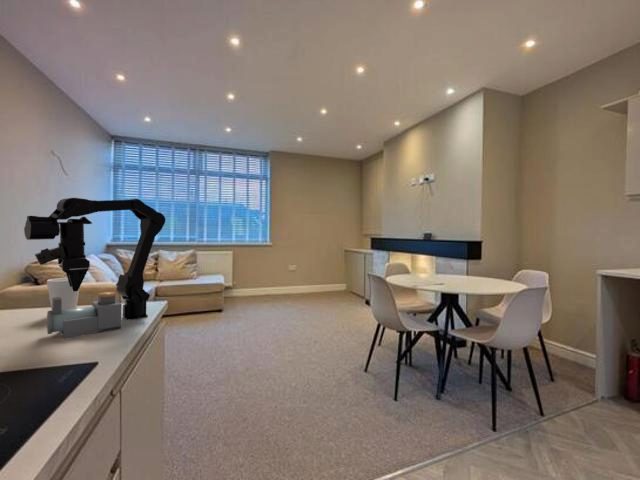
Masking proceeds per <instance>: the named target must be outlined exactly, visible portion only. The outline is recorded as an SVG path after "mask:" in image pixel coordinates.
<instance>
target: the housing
mask: <svg viewBox="0 0 640 480" xmlns="http://www.w3.org/2000/svg"><path fill="white" fill-rule="evenodd" d="M92 306H94V307H95V312H96V316H92V317H85V318H78V319H71V320H65V321H63V331H59V333H60V334H61V336H62V338H63V340H68V339H73V338H78V337H84V336H91V335H95V334H101V333H106V332H113V331H117V330H121V329H122V303H121V302H119V301H118V300H117V299H115V303H111V304H103V305H99V304H98V300H93V301H92V303H91V307H92Z"/></svg>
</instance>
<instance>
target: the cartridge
mask: <svg viewBox="0 0 640 480" xmlns="http://www.w3.org/2000/svg"><path fill="white" fill-rule="evenodd" d="M61 301H62V299H61V298H60V297H56V298H52V309H51V310H47V313H46V331H47V335H52V334H53V333H57V332H60V331H63V321H65V320H71V319H78V318H85V317H92V316H96V312H95V307H94V306H92V305H91V306H87V307H86V306H85V307H78V308H77V307H76V309H68V310H61Z"/></svg>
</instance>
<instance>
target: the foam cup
mask: <svg viewBox="0 0 640 480" xmlns="http://www.w3.org/2000/svg"><path fill="white" fill-rule="evenodd" d="M46 287H47V292H48V297H49V303H50V310H52V298H56V297H60V298H61V299H62V301H61V310H68V309H76V308H77V305H78V301H79V294H80V289H79V290H78V291H73V289H72V287H70V285H69V281H68V278H67V277H56V278H49V279H47V280H46Z"/></svg>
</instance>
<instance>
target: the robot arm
mask: <svg viewBox="0 0 640 480" xmlns="http://www.w3.org/2000/svg"><path fill="white" fill-rule="evenodd" d="M115 211H116V212H117V211H130V212H132V214H133V215H134V216H135V217H136V218H137V219H138V220H140V224H139V228H140V236H139V238H138V242H137V245H136V247H135V250H134V253H133V255H132V259H131V262H130V264H129V267H128V270H127V271H126V273H125V274H119V275H118V280H117V282H116V284H115V286H116V291H117V293H118V295H120V296H121V298H122V300H124V304H123V305H122V317H123V318H124V319H126V321H130V320H131V321H132V320H137V319H142V318H148V317H149V315H148V314H147V302H148V301H149V299H150V297H151V294H150V293H149V292H147V291H146V290H145V289H144V284H145V280H144V272H145V268H146V265H147V263H148V260H149V257H150V253H151V250H152V247H153V245H154V241H155V238H156V237H157V235H158V234H159V233H161V231H162V229H163V228H164V226H165V224H166V217H165V216H164V214H163V213H161V212H158V211H157V210H156V209H154V208H153V207H151V206H149V205H147V204H146V203H144V202H143V201H142V200H141V199H139V198H130V199H113V200H112V199H109V200H95V199H88V198H81V197H69V198H67V197H66V198H62V199H60V200H59V201H58V202H57V203H56V209H54V211H53V212H52V213H51V214H50V215H49V216H37V215H27V216H26V220H25V225H24V228H23V230H24V231H23V232H24V233H23V234H24V237H25V239H26V240H27V241H32V240H34V241H35V240H36V241H37V240H54V239H55V238H56V237H58V236H59V237H60V239H59V242H58V246H57V247H54V248H51V249H49V248H44V249H40V252H37V253H35V254H34V256H35V258H36V260H37V261H38V263H39V265H40V266H42V265H45V264H47V263H49V262H52V261H53V262H54V261H55V260H57V264H58V266H59V267H60V268H61V270H62V272H64V273H65V274H66V278H68V281H69V285H70V287H72V289H73V291H78V290H79V291H80V287H81V286H82V283H83V282H84V279H85V276H86V275H87V273H88V271H89V270H90V267H91V263H90V260H89V259H87V257H86V254H85V246H86V241H85V227H84V225H92V224H93V222H92V221H90V220H89V219H88V218H87V217H86V216H85V215H91V214H95V213H98V212H99V213H100V212H115ZM75 217H76V218H75ZM77 217H80V218H77ZM60 220H63V221H62V222H61V221H60ZM64 220H67V221H64Z"/></svg>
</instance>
